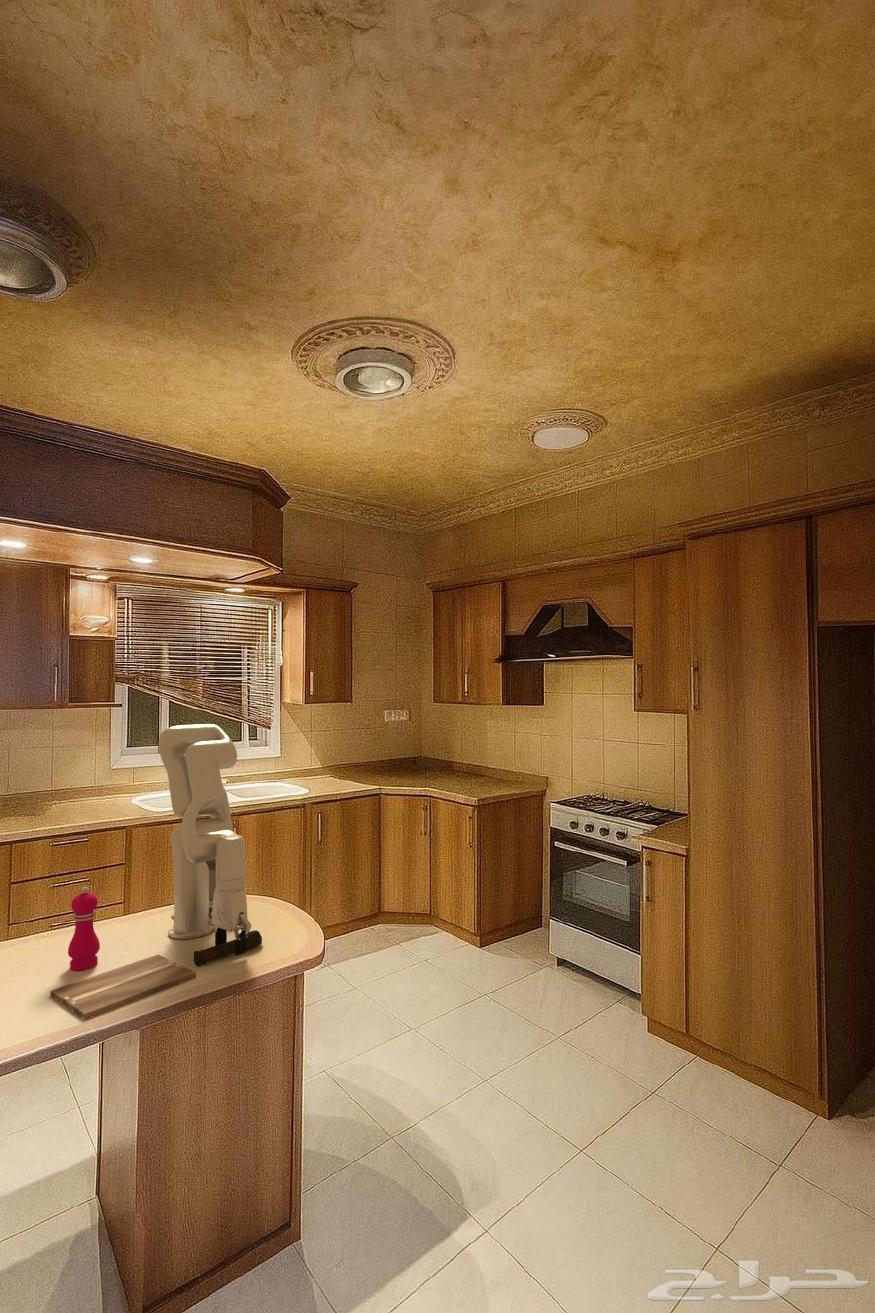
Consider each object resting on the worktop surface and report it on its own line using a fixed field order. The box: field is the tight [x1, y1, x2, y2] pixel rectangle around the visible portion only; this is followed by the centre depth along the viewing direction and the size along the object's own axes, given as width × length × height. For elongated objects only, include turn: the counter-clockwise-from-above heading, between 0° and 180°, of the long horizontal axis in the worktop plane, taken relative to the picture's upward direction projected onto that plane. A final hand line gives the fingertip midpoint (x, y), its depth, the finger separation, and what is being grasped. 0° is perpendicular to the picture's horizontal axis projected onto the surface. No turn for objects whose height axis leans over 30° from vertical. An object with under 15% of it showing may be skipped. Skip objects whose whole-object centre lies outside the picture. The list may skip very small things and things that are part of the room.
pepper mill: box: [67, 886, 101, 972], centre depth 169 cm, size 7×7×20 cm
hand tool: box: [193, 929, 263, 968], centre depth 175 cm, size 19×4×5 cm, turn 134°
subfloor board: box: [50, 954, 197, 1020], centre depth 157 cm, size 18×26×1 cm
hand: (230, 950), depth 175 cm, fingers open, 8 cm apart
